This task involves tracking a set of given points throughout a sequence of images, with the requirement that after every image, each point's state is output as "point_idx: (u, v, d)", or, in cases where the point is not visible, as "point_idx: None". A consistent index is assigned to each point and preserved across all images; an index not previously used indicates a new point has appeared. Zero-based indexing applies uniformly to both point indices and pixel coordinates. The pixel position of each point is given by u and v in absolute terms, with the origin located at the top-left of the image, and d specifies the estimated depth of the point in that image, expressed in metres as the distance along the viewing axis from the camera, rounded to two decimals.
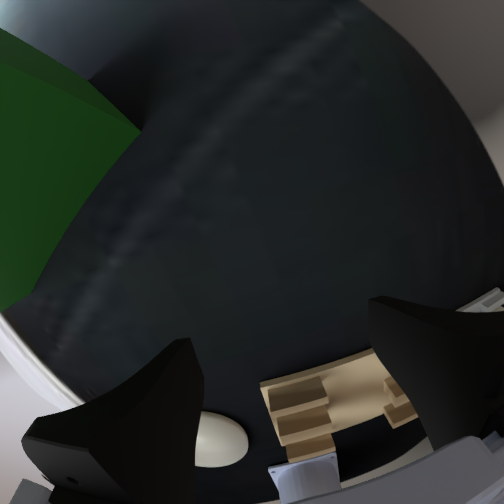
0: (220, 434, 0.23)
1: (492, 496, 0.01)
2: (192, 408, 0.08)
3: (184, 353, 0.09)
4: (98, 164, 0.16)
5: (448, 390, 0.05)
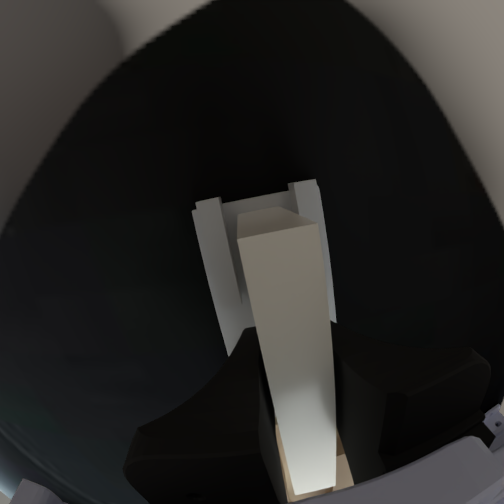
0: None
1: (492, 496, 0.01)
2: (271, 398, 0.08)
3: None
4: None
5: (355, 430, 0.05)
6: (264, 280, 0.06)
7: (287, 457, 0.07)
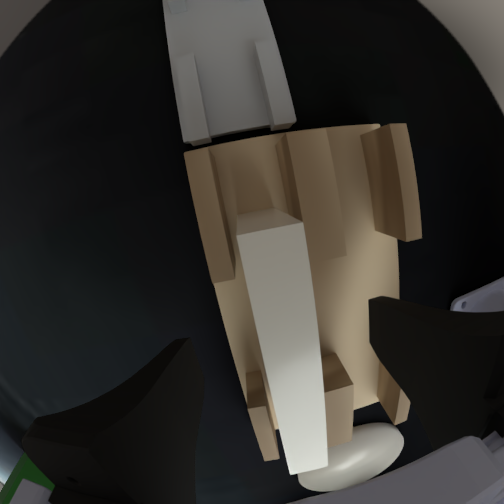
0: (337, 456, 0.16)
1: (492, 496, 0.01)
2: (192, 408, 0.08)
3: (184, 353, 0.09)
4: None
5: (448, 390, 0.05)
6: (258, 270, 0.07)
7: (281, 433, 0.08)
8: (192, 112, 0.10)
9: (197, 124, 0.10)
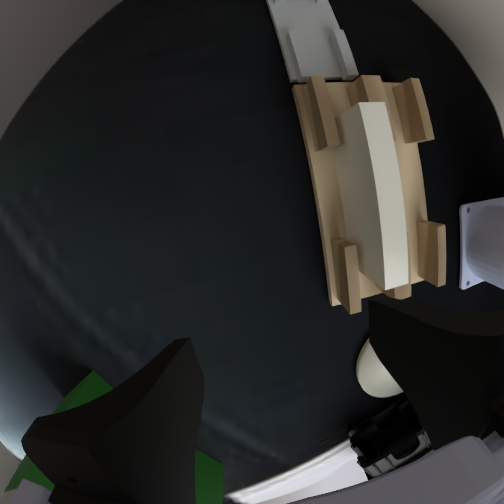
0: None
1: (492, 496, 0.01)
2: (192, 408, 0.08)
3: (184, 353, 0.09)
4: None
5: (448, 390, 0.05)
6: (368, 119, 0.12)
7: (382, 234, 0.14)
8: (302, 61, 0.15)
9: (306, 68, 0.16)
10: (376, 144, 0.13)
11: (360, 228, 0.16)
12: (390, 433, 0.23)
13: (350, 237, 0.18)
